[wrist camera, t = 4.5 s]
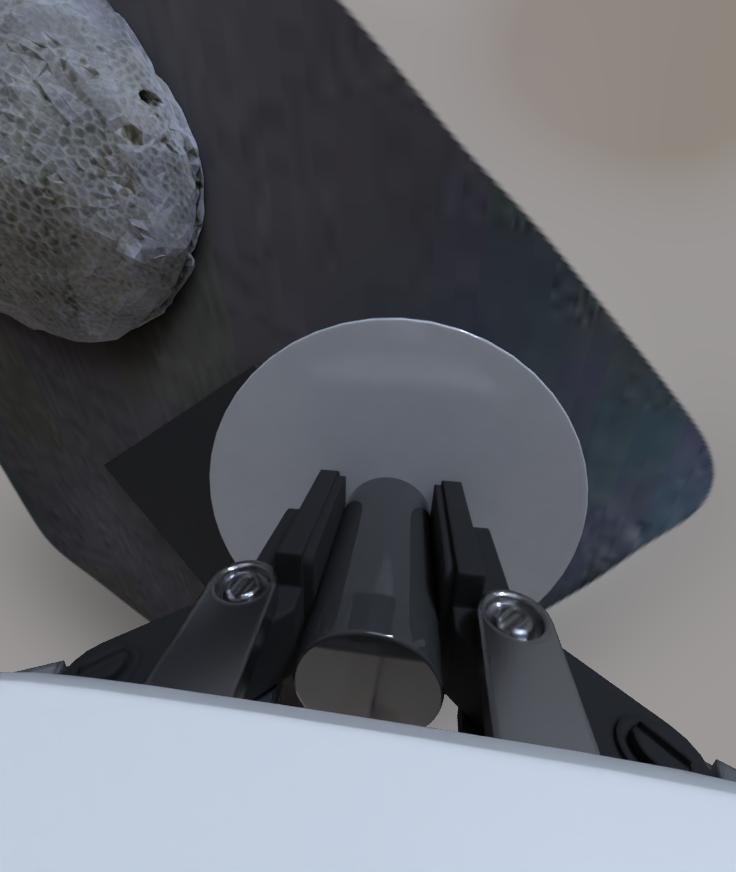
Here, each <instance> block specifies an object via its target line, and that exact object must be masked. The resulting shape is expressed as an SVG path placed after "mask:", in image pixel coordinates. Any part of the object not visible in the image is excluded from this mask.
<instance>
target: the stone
mask: <svg viewBox="0 0 736 872" xmlns="http://www.w3.org/2000/svg"><path fill="white" fill-rule="evenodd" d="M204 213H205V211H204V177H203V171H202V165H201V161H200V158H199V151H198V147H197V144H196V141H195V139H194V137H193V135H192V133H191V131H190V128H189V126H188V124H187V121H186V119H185V116H184V114H183V111H182V109H181V107H180V106H179V105H178V103H177V102H176V100H175V99H174V97H173V95H172V93H171V91H170V89H169V87H168V86H167V84H166V83H165V82H164V81H163V80H162V79H161V78H160V77H158V76H157V75H156V74H155V71H154V68H153V65H152V62H151V61H150V59H149V57H148V56H147V54H146V52H145V51H144V49H143V47H142V46H141V44H140V42H139V41H138V39H137V37H136V36H135V34H134V33H133V31H132V30H131V28H130V27H129V25H128V24H127V23H126V21H125V20H124V18H123V17H122V16H120V15H119V14H118V13H116V12H114V10H113V9H112V7H111V6H110V4H109V3H108V2H107V1H106V0H0V313H3V314H7V315H9V316H11V317H13V318H14V319H16V320H17V321H19V322H21V323H22V324H24V325H26V326H28V327H29V328H31V329H33V330H44V331H46V332H48V333H50V334H53V335H56V336H59V337H62V338H66V339H69V340H71V341H76V342H89V343H91V342H102V341H103V342H105V341H111V340H117V339H119V338H120V337H122V336H123V335H125V334H126V333H127V332H129V331H130V330H133V329H136V328H138V327H140V326H142V325H143V324H145V323H147V322H148V321H150V320H152V319H154V318H156V317H158V316H160V315H162V314H164V312H165V310H166V308H167V307H168V306H169V305H171V304H172V302H173V299H174V297H175V295H176V294H177V293H178V292H179V290H180V289H181V288H182V286H183V285H184V284H185V282H186V281H187V280H188V278H189V277H190V275H191V274H192V272H193V269H194V267H195V260H194V258H193V257H192V255H191V253H192V252H193V250H194V249H195V246H196V244H197V241H198V236H199V233H200V231H201V229H202V227H203V221H204Z"/></svg>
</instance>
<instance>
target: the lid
mask: <svg viewBox="0 0 736 872" xmlns="http://www.w3.org/2000/svg"><path fill="white" fill-rule="evenodd" d="M321 469H323V470H334V471H339V472H340V476H346V500H345V511H344V514H343V517H342V520H341V523H340V526H339V529H338V532H337V535H336V538H335V541H334V544H333V547H332V550H331V553H330V556H329V560H328V563H327V566H326V569H325V572H324V575H323V578H322V581H321V584H320V587H319V590H318V593H317V596H316V599H315V602H314V605H313V608H312V611H311V614H310V617H309V621H308V624H307V627H306V630H305V633H304V636H303V639H302V642H301V645H300V648H299V651H298V654H297V657H296V660H295V663H294V668H293V682H294V688H295V691H296V694H297V696H298V698H299V700H300V701H301V703H302V704H303V706H304V707H305V708H306V709H312V710H319V711H326V712H332V713H339V714H345V715H352V716H358V717H365V718H371V719H377V720H384V721H390V722H397V723H403V724H410V725H416V726H423V727H426V726H427V725H429V724H430V723H431V722H432V721H433V720H434V719H435V717H436V716H437V715H438V713H439V711H440V709H441V706H442V703H443V699H444V680H443V668H442V655H441V643H440V631H439V620H438V608H437V595H436V583H435V571H434V559H433V546H432V534H431V522H430V515H431V507H432V499H433V491H434V485H441V482H442V480H444V481H455V482H461V483H462V487H463V491H464V494H465V498H466V502H467V506H468V509H469V513H470V517H471V521H472V524H473V527H480V528H487V529H489V531H490V533H491V536H492V539H493V542H494V545H495V548H496V551H497V554H498V557H499V560H500V563H501V566H502V569H503V572H504V575H505V578H506V581H507V584H508V587H509V590H512V591H515V592H519V593H521V594H524V595H526V596H528V597H530V598H531V599H533V600H534V601H536V602H537V603H538V602H539V601H540V600H541V599H542V598H543V597H544V596H545V595H546V594H547V593H548V592H549V591H550V590H551V589H552V588H553V586H554V585H555V584H556V582H557V581H558V580H559V578H560V577H561V576H562V575H563V573H564V572H565V570H566V568H567V566H568V564H569V563H570V561H571V559H572V557H573V555H574V554H575V551H576V548H577V546H578V543H579V540H580V538H581V535H582V532H583V527H584V522H585V518H586V513H587V499H588V482H587V473H586V463H585V460H584V456H583V452H582V449H581V445H580V442H579V439H578V436H577V434H576V432H575V430H574V428H573V425H572V423H571V421H570V419H569V417H568V415H567V413H566V412H565V410H564V409H563V407H562V406H561V404H560V403H559V401H558V400H557V398H556V397H555V395H554V394H553V393H552V392H551V391H550V389H549V388H548V387H547V386H546V385H545V384H544V383H543V382H542V381H541V380H540V379H539V377H538V376H537V375H536V374H535V373H534V372H533V371H531V370H530V369H529V368H528V367H526V366H525V365H524V364H523V363H521V362H520V361H519V360H518V359H517V358H515V357H514V356H513V355H511V354H510V353H508V352H506V351H505V350H503V349H501V348H499V347H498V346H496V345H494V344H493V343H491V342H489V341H488V340H486V339H484V338H481V337H479V336H477V335H474V334H472V333H469V332H467V331H465V330H462V329H460V328H457V327H453V326H449V325H446V324H442V323H438V322H434V321H430V320H422V319H413V318H405V317H384V318H369V319H363V320H356V321H350V322H345V323H342V324H338V325H335V326H332V327H329V328H325V329H322V330H319V331H316V332H314V333H312V334H310V335H307V336H305V337H303V338H301V339H299V340H297V341H295V342H293V343H291V344H289V345H288V346H286V347H285V348H283V349H282V350H280V351H279V352H277V353H276V354H274V355H273V356H271V357H270V358H269V359H268V360H267V361H266V362H264V363H263V364H262V365H261V366H260V367H259V368H258V369H257V370H256V371H254V372H253V373H252V374H251V376H250V377H249V378H248V379H247V380H246V382H245V383H244V384H243V385H242V386H241V388H240V389H239V390H238V391H237V393H236V394H235V396H234V398H233V399H232V401H231V403H230V404H229V406H228V408H227V409H226V411H225V413H224V416H223V418H222V420H221V423H220V425H219V428H218V430H217V433H216V437H215V441H214V445H213V449H212V454H211V463H210V474H209V477H210V496H211V501H212V506H213V512H214V516H215V519H216V522H217V525H218V528H219V531H220V534H221V537H222V539H223V541H224V543H225V545H226V547H227V549H228V551H229V553H230V555H231V556H232V558H233V560H234V561H235V562H239V561H244V560H257V558H258V556H259V555H260V553H261V551H262V550H263V548H264V546H265V545H266V543H267V542H268V540H269V538H270V537H271V535H272V533H273V532H274V530H275V528H276V527H277V525H278V523H279V522H280V520H281V519H282V517H283V515H284V514H285V512H286V511H287V509H289V508H294V509H299V508H300V507H301V505H302V503H303V501H304V499H305V497H306V496H307V494H308V492H309V490H310V488H311V487H312V485H313V483H314V481H315V479H316V477H317V476H318V474H319V472H320V470H321Z"/></svg>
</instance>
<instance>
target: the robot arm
mask: <svg viewBox="0 0 736 872" xmlns="http://www.w3.org/2000/svg"><path fill="white" fill-rule="evenodd" d="M345 500H346V476H340V472H339V471H334V470H323V469H321V470H320V472H319V474H318V476H317V477H316V479H315V481H314V483H313V485H312V487H311V488H310V490H309V492H308V494H307V496H306V497H305V499H304V501H303V503H302V505H301V507H300V508H299V509H294V508H289V509H287V511H286V512H285V514H284V515H283V517H282V519H281V520H280V522H279V523H278V525H277V527H276V528H275V530H274V532H273V533H272V535H271V537H270V538H269V540H268V542H267V543H266V545H265V546H264V548H263V550H262V551H261V553H260V555H259V556H258V558H257V560H244V561H239V562H235V563H232V564H230V565H228V566H225V567H224V568H222V569H221V570H219V571H218V572H216V573H215V575H214V576H213V577H212V578H211V579H210V580H209V582H208V584H207V585H206V587H205V588H204V590H203V591H202V593H201V595H200V596H199V598H198V599H197V601H196V603H194V604H192V605H189V606H187V607H185V608H182V609H180V610H178V611H175V612H173V613H171V614H169V615H166V616H164V617H162V618H159V619H157V620H155V621H152V622H150V623H148V624H146V625H143V626H141V627H138V628H136V629H134V630H131V631H129V632H127V633H124V634H122V635H120V636H117V637H115V638H113V639H110V640H108V641H106V642H103V643H101V644H99V645H97V646H96V647H94V648H92V649H90V650H88V651H87V652H85V653H84V654H83V655H81V656H80V657H79V658H77V659H76V660H75V661H74V662H73V663H72V664H71V665H70V666H67V667H66V665H65V662H64V661H60V662H56V663H51V664H47V665H43V666H39V667H34V668H30V669H25V670H21V671H17V672H0V872H736V769H735V768H733V767H731V766H729V765H727V764H725V763H723V762H721V761H719V760H715V762H714V764H713V765H710V764H708V763H707V762H705V761H704V760H703V758H702V757H701V755H700V754H699V753H698V751H697V750H696V749H695V748H694V747H693V746H692V745H691V744H690V743H689V741H688V740H687V739H686V738H684V737H683V736H682V735H681V734H680V733H679V732H677V731H676V730H675V729H674V728H673V727H671V726H670V725H669V724H667V723H666V722H664V721H663V720H662V719H661V718H659V717H658V716H656V715H655V714H654V713H652V712H650V711H649V710H648V709H647V708H645V707H643V706H642V705H641V704H640V703H638V702H637V701H635V700H634V699H633V698H631V697H630V696H628V695H627V694H626V693H624V692H623V691H621V690H620V689H619V688H617V687H616V686H615V685H613V684H612V683H610V682H609V681H608V680H606V679H605V678H603V677H602V676H601V675H599V674H598V673H596V672H595V671H594V670H592V669H591V668H589V667H588V666H587V665H585V664H584V663H582V662H581V661H580V660H578V659H577V658H575V657H574V656H573V655H571V654H570V653H568V652H567V651H566V650H564V649H563V648H562V646H561V643H560V640H559V638H558V635H557V632H556V629H555V626H554V624H553V622H552V619H551V618H550V616H549V614H548V613H547V612H546V610H545V609H544V608H543V607H542V606H541V605H540V604H538V603H537V602H536V601H534V600H533V599H531V598H530V597H528V596H526V595H524V594H521V593H519V592H515V591H512V590H509V587H508V584H507V581H506V578H505V575H504V572H503V569H502V566H501V563H500V560H499V557H498V554H497V551H496V548H495V545H494V542H493V539H492V536H491V533H490V531H489V529H487V528H480V527H473V524H472V521H471V517H470V513H469V509H468V506H467V502H466V498H465V494H464V491H463V487H462V483H461V482H455V481H444V480H442V482H441V485H434V491H433V499H432V507H431V515H430V522H431V534H432V546H433V559H434V571H435V583H436V595H437V608H438V620H439V631H440V643H441V655H442V668H443V680H444V694H446V695H447V696H448V697H449V698H450V699H451V700H452V701H453V702H454V703H455V704H456V705H457V706H458V715H457V719H458V732H454V731H448V730H442V729H435V728H428V727H423V726H416V725H410V724H403V723H397V722H390V721H384V720H377V719H371V718H365V717H358V716H352V715H345V714H339V713H332V712H326V711H319V710H312V709H306V708H299V707H293V706H286V705H280V704H278V702H279V698H280V694H281V691H282V684H283V679H285V678H287V677H288V676H290V675H291V674H293V668H294V663H295V660H296V657H297V654H298V651H299V648H300V645H301V642H302V639H303V636H304V633H305V630H306V627H307V624H308V621H309V617H310V614H311V611H312V608H313V605H314V602H315V599H316V596H317V593H318V590H319V587H320V584H321V581H322V578H323V575H324V572H325V569H326V566H327V563H328V560H329V556H330V553H331V550H332V547H333V544H334V541H335V538H336V535H337V532H338V529H339V526H340V523H341V520H342V517H343V514H344V511H345Z"/></svg>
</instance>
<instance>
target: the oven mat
mask: <svg viewBox="0 0 736 872" xmlns="http://www.w3.org/2000/svg"><path fill="white" fill-rule="evenodd" d="M259 367H260V365H259V364H255V365H253V366H251V367H250V368H248V369H247V370H245V371H244V372H242V373H241V374H239V375H238V376H236V377H235V378H233V379H232V380H230V381H229V382H227V383H226V384H225V385H223V386H222V387H220V388H219V389H217V390H216V391H214V392H213V393H211V394H210V395H208V396H207V397H205V398H204V399H202V400H201V401H199V402H198V403H196V404H195V405H193V406H192V407H190V408H189V409H187V410H186V411H184V412H183V413H181V414H180V415H178V416H177V417H175V418H174V419H172V420H171V421H169V422H168V423H166V424H165V425H163V426H162V427H160V428H159V429H157V430H156V431H154V432H153V433H151V434H150V435H148V436H147V437H145V438H144V439H142V440H141V441H139V442H138V443H136V444H135V445H134V446H132V447H131V448H129V449H128V450H126V451H125V452H123V453H122V454H120V455H119V456H117V457H116V458H114V459H113V460H111V461H110V462H108V463H107V464H105V465H104V466H105V467H106V468H107V469H108V471H109V472H110V473H111V474H112V475H113V477H114V478H115V479H116V480H117V481H118V483H119V484H120V485H121V486H122V487H123V489H124V490H125V491H126V492H127V493H128V495H129V496H130V497H131V498H132V499H133V501H134V502H135V503H136V504H137V505H138V506H139V508H140V509H141V510H142V511H143V512H144V514H145V515H146V516H147V517H148V518H149V520H150V521H151V522H152V523H153V524H154V526H155V527H156V528H157V529H158V530H159V532H160V533H161V534H162V535H163V536H164V538H165V539H166V540H167V541H168V542H169V544H170V545H171V546H172V547H173V548H174V549H175V551H176V552H177V553H178V554H179V555H180V557H181V558H182V559H183V560H184V561H185V563H186V564H187V565H188V566H189V567H190V569H191V570H192V571H193V572H194V573H195V575H196V576H197V577H198V578H199V579H200V581H201V582H202V583H203V584H204V585H205V587H206V585H207V584H208V582H209V580H210V579H211V578H212V577H213V576H214V575H215V573H216V572H218V571H219V570H221V569H222V568H224V567H225V566H228V565H230V564H232V563H235V561H234V560H233V558H232V556H231V555H230V553H229V551H228V549H227V547H226V545H225V543H224V541H223V539H222V537H221V534H220V531H219V528H218V525H217V522H216V519H215V516H214V512H213V506H212V501H211V496H210V477H209V474H210V463H211V454H212V449H213V445H214V441H215V437H216V433H217V430H218V428H219V425H220V423H221V420H222V418H223V416H224V413H225V411H226V409H227V408H228V406H229V404H230V403H231V401H232V399H233V398H234V396H235V394H236V393H237V391H238V390H239V389H240V388H241V386H242V385H243V384H244V383H245V382H246V380H247V379H248V378H249V377H250V376H251V374H252V373H253V372H254V371H256V370H257V369H258V368H259Z"/></svg>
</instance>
